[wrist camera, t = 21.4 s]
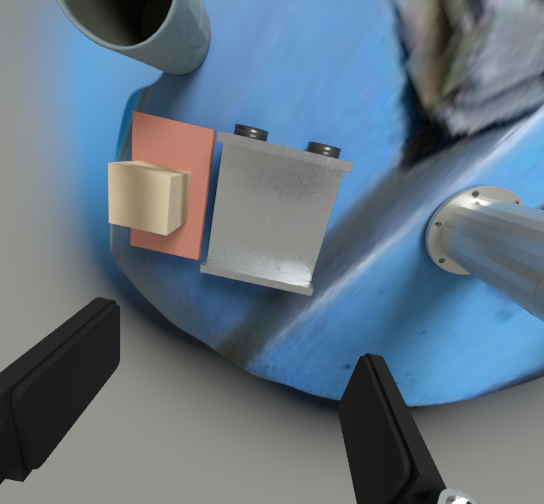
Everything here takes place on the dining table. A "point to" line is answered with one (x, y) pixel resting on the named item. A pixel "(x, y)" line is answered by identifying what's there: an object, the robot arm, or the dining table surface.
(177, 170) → the box
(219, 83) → the dining table surface
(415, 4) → the dining table surface
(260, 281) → the cart
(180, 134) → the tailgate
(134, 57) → the grey round bin
